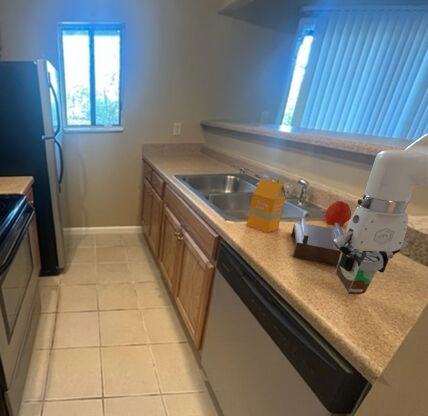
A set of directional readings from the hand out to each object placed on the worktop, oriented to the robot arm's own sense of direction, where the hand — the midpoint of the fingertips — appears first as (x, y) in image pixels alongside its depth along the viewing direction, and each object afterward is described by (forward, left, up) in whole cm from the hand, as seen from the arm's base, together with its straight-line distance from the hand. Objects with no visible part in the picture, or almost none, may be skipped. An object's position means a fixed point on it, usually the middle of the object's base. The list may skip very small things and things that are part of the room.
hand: (360, 268), depth 70 cm
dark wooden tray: (+6, -24, -8) cm, 26 cm away
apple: (-3, -55, -9) cm, 56 cm away
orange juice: (+23, -36, -9) cm, 43 cm away
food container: (0, 0, -5) cm, 5 cm away
